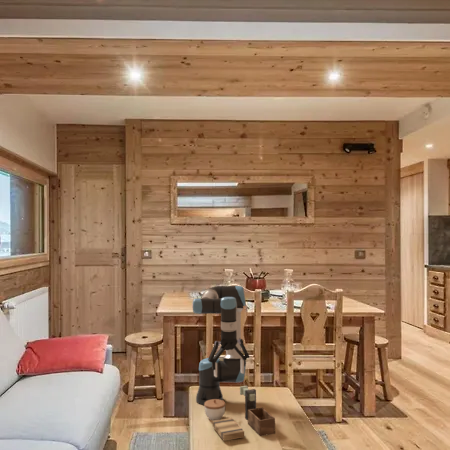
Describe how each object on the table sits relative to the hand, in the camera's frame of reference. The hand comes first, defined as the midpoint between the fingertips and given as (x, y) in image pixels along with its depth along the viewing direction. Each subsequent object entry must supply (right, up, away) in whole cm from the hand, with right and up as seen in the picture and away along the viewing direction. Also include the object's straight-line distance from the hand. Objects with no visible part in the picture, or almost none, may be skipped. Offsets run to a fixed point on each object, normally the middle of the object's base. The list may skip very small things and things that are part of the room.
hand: (229, 374), depth 208 cm
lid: (-1, -26, -2) cm, 26 cm away
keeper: (+11, -28, +15) cm, 33 cm away
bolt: (+10, -18, +18) cm, 27 cm away
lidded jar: (-7, -28, +15) cm, 33 cm away
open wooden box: (+16, -27, +3) cm, 32 cm away
